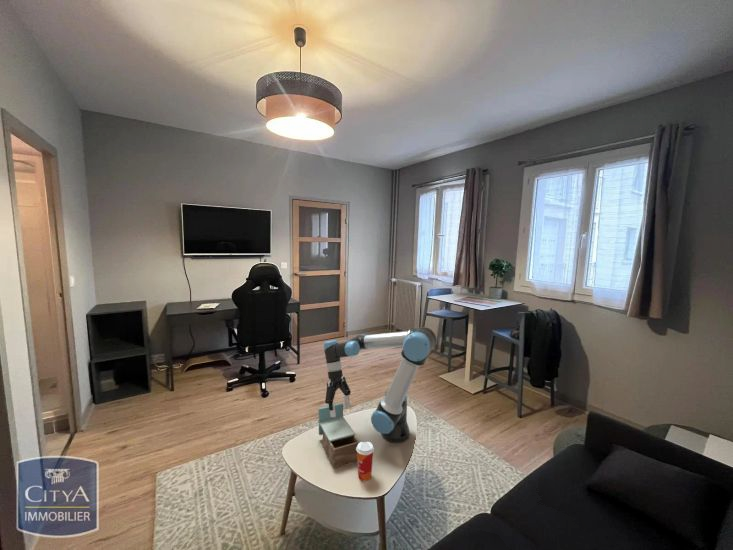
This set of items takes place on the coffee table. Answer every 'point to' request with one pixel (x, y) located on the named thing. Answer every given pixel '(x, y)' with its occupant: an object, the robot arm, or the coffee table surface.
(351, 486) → the coffee table surface
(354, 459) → the walnut box
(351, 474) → the coffee table surface
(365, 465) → the pill bottle
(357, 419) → the coffee table surface
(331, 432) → the teal l-shaped piece
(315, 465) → the coffee table surface
